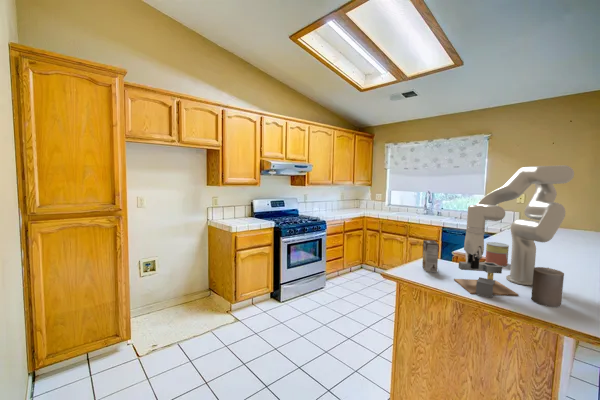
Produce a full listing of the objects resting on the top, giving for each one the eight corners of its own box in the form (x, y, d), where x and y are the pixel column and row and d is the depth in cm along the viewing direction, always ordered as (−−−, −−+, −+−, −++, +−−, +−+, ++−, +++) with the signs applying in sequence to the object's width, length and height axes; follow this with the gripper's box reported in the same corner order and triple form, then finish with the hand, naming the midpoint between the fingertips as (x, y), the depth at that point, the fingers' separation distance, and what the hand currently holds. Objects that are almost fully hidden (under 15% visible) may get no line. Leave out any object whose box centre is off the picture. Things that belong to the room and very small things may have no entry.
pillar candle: (525, 297, 124) (527, 264, 122) (545, 296, 124) (548, 263, 123) (545, 308, 114) (549, 272, 113) (568, 307, 115) (571, 271, 113)
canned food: (508, 267, 166) (509, 247, 165) (485, 264, 172) (486, 244, 171) (507, 262, 175) (508, 243, 174) (485, 259, 181) (486, 241, 180)
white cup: (462, 261, 177) (462, 250, 177) (472, 261, 178) (473, 250, 177) (469, 264, 170) (470, 253, 170) (480, 264, 171) (481, 253, 170)
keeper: (478, 289, 132) (479, 277, 132) (494, 293, 128) (495, 280, 128) (475, 294, 127) (476, 281, 126) (491, 298, 123) (492, 284, 123)
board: (495, 282, 142) (496, 280, 142) (518, 296, 125) (518, 294, 125) (454, 280, 144) (454, 278, 144) (470, 293, 127) (470, 292, 127)
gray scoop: (493, 269, 141) (493, 262, 141) (501, 273, 134) (502, 266, 134) (456, 266, 143) (457, 260, 143) (463, 271, 136) (463, 264, 136)
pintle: (491, 282, 140) (491, 272, 139) (493, 283, 137) (494, 273, 137) (486, 281, 140) (486, 272, 140) (488, 283, 138) (489, 273, 137)
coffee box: (421, 266, 166) (422, 239, 165) (433, 267, 165) (434, 240, 164) (425, 271, 157) (426, 243, 156) (437, 272, 156) (439, 243, 155)
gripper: (459, 227, 146) (457, 262, 147) (475, 233, 130) (473, 272, 131) (475, 227, 145) (472, 263, 147) (493, 234, 129) (490, 273, 130)
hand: (472, 267), depth 139 cm, fingers closed on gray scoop, 3 cm apart
